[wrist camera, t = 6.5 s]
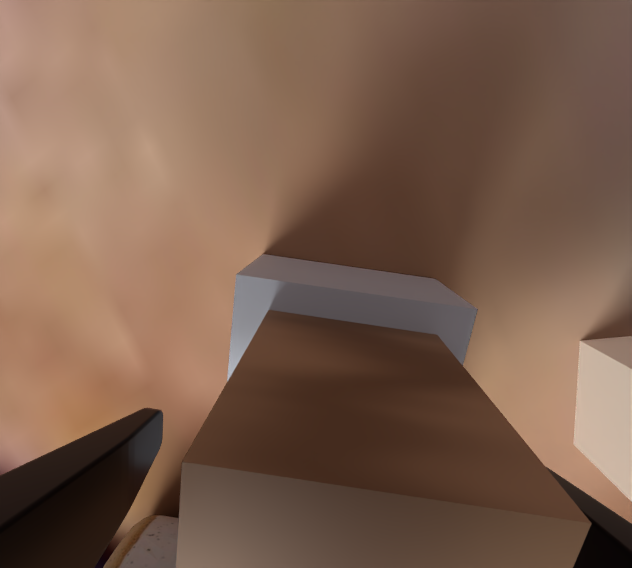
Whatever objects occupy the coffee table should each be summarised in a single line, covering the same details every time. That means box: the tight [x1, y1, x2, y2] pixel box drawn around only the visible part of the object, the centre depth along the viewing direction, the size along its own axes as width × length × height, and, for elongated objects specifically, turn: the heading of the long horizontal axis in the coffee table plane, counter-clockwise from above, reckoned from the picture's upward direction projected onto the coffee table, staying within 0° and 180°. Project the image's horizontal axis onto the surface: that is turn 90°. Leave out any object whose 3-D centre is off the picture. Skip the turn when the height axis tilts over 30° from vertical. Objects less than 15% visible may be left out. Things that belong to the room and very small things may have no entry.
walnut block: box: [176, 310, 592, 568], centre depth 8 cm, size 5×5×6 cm
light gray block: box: [227, 254, 478, 382], centre depth 12 cm, size 7×7×4 cm
